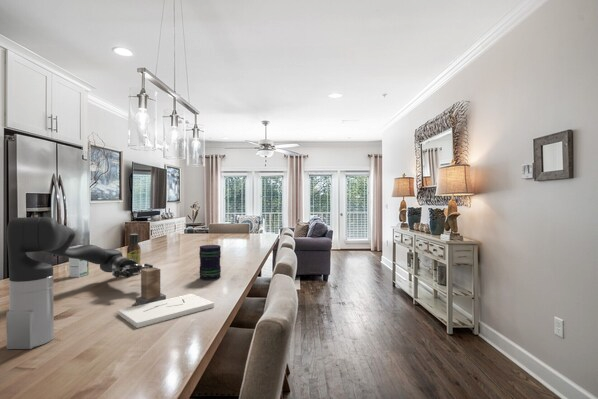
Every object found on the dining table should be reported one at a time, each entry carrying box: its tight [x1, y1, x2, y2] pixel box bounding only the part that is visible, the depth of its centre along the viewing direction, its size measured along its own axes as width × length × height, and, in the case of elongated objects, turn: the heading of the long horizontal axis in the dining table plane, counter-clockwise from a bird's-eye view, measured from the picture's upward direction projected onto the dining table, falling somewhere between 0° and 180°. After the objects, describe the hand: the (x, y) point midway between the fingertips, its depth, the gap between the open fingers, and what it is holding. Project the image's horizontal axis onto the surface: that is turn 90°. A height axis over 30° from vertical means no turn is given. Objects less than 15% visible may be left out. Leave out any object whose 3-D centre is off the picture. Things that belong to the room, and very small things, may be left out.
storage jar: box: [198, 244, 222, 281], centre depth 160 cm, size 10×10×15 cm
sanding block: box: [135, 266, 167, 306], centre depth 124 cm, size 9×5×12 cm, turn 136°
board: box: [117, 293, 215, 329], centre depth 114 cm, size 26×16×2 cm, turn 136°
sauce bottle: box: [126, 233, 141, 276], centre depth 168 cm, size 6×6×20 cm
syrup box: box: [68, 244, 90, 278], centre depth 164 cm, size 6×6×14 cm
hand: (140, 273), depth 132 cm, fingers open, 8 cm apart
